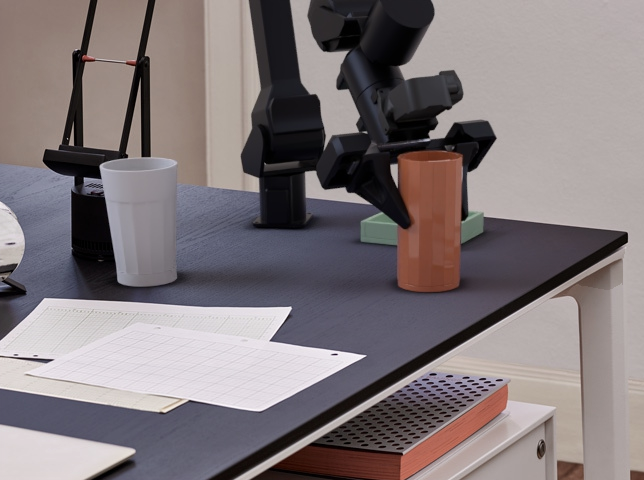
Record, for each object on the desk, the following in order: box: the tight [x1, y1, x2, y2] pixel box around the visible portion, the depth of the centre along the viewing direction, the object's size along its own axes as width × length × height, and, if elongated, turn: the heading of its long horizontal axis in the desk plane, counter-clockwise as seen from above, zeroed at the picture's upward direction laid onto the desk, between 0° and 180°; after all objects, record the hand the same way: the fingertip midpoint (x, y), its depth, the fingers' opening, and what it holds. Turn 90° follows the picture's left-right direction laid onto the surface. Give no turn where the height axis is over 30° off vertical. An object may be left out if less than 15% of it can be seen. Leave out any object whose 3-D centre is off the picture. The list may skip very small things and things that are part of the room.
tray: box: [360, 210, 485, 246], centre depth 159 cm, size 11×10×2 cm
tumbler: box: [396, 150, 463, 293], centre depth 137 cm, size 6×6×13 cm
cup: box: [99, 156, 178, 288], centre depth 142 cm, size 8×8×12 cm
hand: (436, 222), depth 136 cm, fingers closed on tumbler, 6 cm apart
